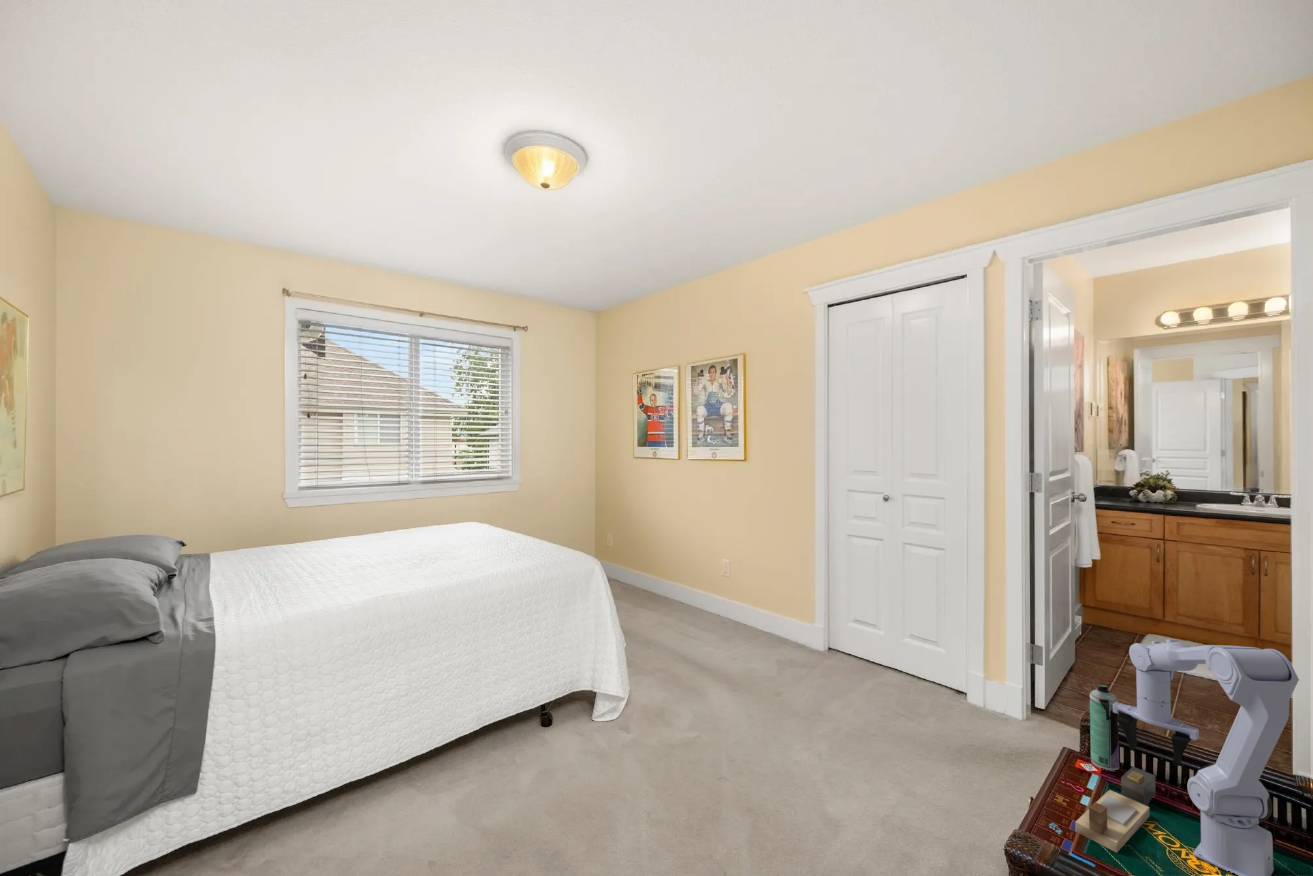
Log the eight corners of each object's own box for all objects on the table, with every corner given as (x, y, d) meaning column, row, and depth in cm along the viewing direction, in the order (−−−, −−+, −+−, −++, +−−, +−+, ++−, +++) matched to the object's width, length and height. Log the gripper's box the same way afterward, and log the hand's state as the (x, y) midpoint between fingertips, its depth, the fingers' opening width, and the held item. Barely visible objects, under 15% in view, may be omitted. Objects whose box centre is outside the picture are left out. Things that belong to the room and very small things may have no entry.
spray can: (1124, 772, 132) (1122, 691, 132) (1099, 770, 134) (1097, 690, 133) (1110, 759, 138) (1109, 681, 138) (1086, 757, 139) (1084, 679, 139)
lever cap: (1155, 797, 124) (1155, 772, 124) (1143, 809, 120) (1143, 783, 120) (1133, 787, 127) (1132, 763, 127) (1121, 799, 123) (1120, 774, 123)
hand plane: (1149, 816, 118) (1148, 786, 118) (1116, 852, 108) (1116, 820, 108) (1109, 798, 124) (1109, 770, 124) (1075, 831, 114) (1074, 800, 114)
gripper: (1202, 705, 119) (1203, 765, 120) (1120, 680, 132) (1121, 735, 132) (1192, 714, 116) (1193, 777, 116) (1108, 688, 128) (1109, 745, 128)
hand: (1154, 756), depth 124 cm, fingers open, 7 cm apart
